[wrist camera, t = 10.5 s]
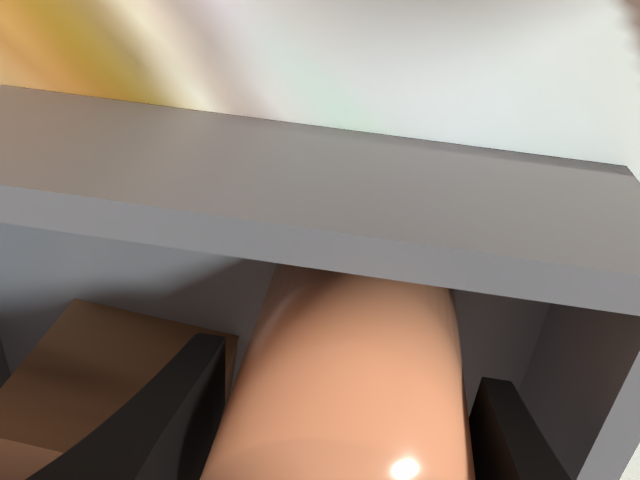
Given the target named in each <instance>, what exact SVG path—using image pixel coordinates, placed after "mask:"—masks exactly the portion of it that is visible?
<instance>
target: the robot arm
mask: <svg viewBox="0 0 640 480" xmlns="http://www.w3.org/2000/svg"><path fill="white" fill-rule="evenodd" d="M225 355H226V337H224V336H217V335H211V334H204V333H197V334H196V335H194V336H193V337H192V338H191V339H190V340H189V341H188V342H187V343H186V345H185V346H184V347H183V348H182V349H181V350H180V351H179V352H178V353H177V354H176V355H175V356H174V357H173V358H172V359H171V360H170V361H169V362H168V363H167V364H166V365H165V366H164V367H163V368H162V369H161V370H160V371H159V372H158V373H157V374H156V375H155V376H154V377H153V378H152V379H151V380H150V381H149V382H148V383H147V384H146V385H145V386H144V387H143V388H142V389H141V390H140V391H138V392H137V393H136V394H135V395H134V396H133V397H132V398H131V399H130V400H129V401H128V402H127V403H125V404H124V405H123V406H122V407H121V408H119V409H118V410H117V411H116V412H115V413H114V414H112V415H111V416H110V417H109V418H108V419H107V420H105V421H104V422H103V423H102V424H101V425H100V426H98V427H97V428H96V429H95V430H93V431H92V432H91V433H90V434H88V435H87V436H86V437H85V438H83V439H82V440H81V441H79V442H78V443H77V444H75V445H74V446H73V447H71V448H70V449H68V450H67V451H66V452H64V453H63V454H62V455H60V456H59V457H58V458H56V459H55V460H53V461H52V462H50V463H49V464H47V465H46V466H44V467H43V468H41V469H40V470H38V471H37V472H35V473H34V474H32V475H31V476H29V477H28V478H26V479H25V480H200V477H201V475H202V472H203V469H204V467H205V464H206V461H207V458H208V455H209V453H210V450H211V447H212V444H213V441H214V439H215V436H216V433H217V430H218V427H219V424H220V421H221V417H222V413H223V410H224V406H225ZM469 427H470V436H471V444H472V453H473V462H474V470H475V479H476V480H572V478H571V477H570V475H569V474H568V472H567V471H566V469H565V468H564V466H563V465H562V463H561V462H560V460H559V459H558V457H557V456H556V454H555V452H554V451H553V449H552V448H551V446H550V445H549V443H548V441H547V440H546V438H545V437H544V435H543V433H542V432H541V430H540V428H539V427H538V425H537V423H536V422H535V420H534V418H533V417H532V415H531V413H530V412H529V410H528V408H527V406H526V405H525V403H524V401H523V400H522V398H521V396H520V394H519V393H518V391H517V389H516V387H515V386H514V384H513V383H512V382H511V381H507V380H501V379H494V378H488V377H482V378H481V381H480V384H479V387H478V391H477V394H476V397H475V400H474V403H473V406H472V410H471V413H470V416H469Z"/></svg>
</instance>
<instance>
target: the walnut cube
mask: <svg viewBox="0 0 640 480" xmlns="http://www.w3.org/2000/svg"><path fill="white" fill-rule="evenodd" d="M197 333H204V334H211V335H217V336H224V337H226V355H225V406H224V410H223V413H222V416H223V414H224V411H225V408H226V405H227V402H228V400H229V397H230V394H231V387H232V380H233V374H234V367H235V360H236V353H237V346H238V339H239V336H236V335H232V334H228V333H223V332H219V331H215V330H210V329H206V328H202V327H197V326H193V325H189V324H184V323H180V322H176V321H171V320H167V319H163V318H158V317H154V316H150V315H145V314H141V313H137V312H132V311H128V310H124V309H119V308H115V307H111V306H106V305H102V304H98V303H93V302H89V301H85V300H80V299H76V298H75V299H74V300H73V301H72V302H71V304H70V305H69V306H68V307H67V309H66V310H65V311H64V312H63V313H62V315H61V316H60V317H59V318H58V319H57V321H56V322H55V323H54V324H53V325H52V327H51V328H50V329H49V330H48V331H47V333H46V334H45V335H44V336H43V338H42V339H41V340H40V341H39V342H38V344H37V345H36V346H35V347H34V348H33V350H32V351H31V352H30V353H29V354H28V356H27V357H26V358H25V359H24V361H23V362H22V363H21V364H20V365H19V367H18V368H17V369H16V370H15V371H14V373H13V374H12V375H11V376H10V377H9V379H8V380H7V381H6V382H5V383H4V385H3V386H2V387H1V388H0V480H25V479H26V478H28V477H29V476H31V475H32V474H34V473H35V472H37V471H38V470H40V469H41V468H43V467H44V466H46V465H47V464H49V463H50V462H52V461H53V460H55V459H56V458H58V457H59V456H60V455H62V454H63V453H64V452H66V451H67V450H68V449H70V448H71V447H73V446H74V445H75V444H77V443H78V442H79V441H81V440H82V439H83V438H85V437H86V436H87V435H88V434H90V433H91V432H92V431H93V430H95V429H96V428H97V427H98V426H100V425H101V424H102V423H103V422H104V421H105V420H107V419H108V418H109V417H110V416H111V415H112V414H114V413H115V412H116V411H117V410H118V409H119V408H121V407H122V406H123V405H124V404H125V403H127V402H128V401H129V400H130V399H131V398H132V397H133V396H134V395H135V394H136V393H137V392H138V391H140V390H141V389H142V388H143V387H144V386H145V385H146V384H147V383H148V382H149V381H150V380H151V379H152V378H153V377H154V376H155V375H156V374H157V373H158V372H159V371H160V370H161V369H162V368H163V367H164V366H165V365H166V364H167V363H168V362H169V361H170V360H171V359H172V358H173V357H174V356H175V355H176V354H177V353H178V352H179V351H180V350H181V349H182V348H183V347H184V346H185V345H186V343H187V342H188V341H189V340H190V339H191V338H192V337H193V336H194V335H196V334H197ZM221 419H222V417H221ZM220 422H221V421H220ZM219 425H220V424H219ZM200 478H201V477H200Z"/></svg>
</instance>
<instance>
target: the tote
mask: <svg viewBox="0 0 640 480" xmlns="http://www.w3.org/2000/svg"><path fill="white" fill-rule="evenodd" d="M277 263H280V264H287V265H294V266H301V267H307V268H314V269H321V270H328V271H335V272H342V273H349V274H355V275H362V276H369V277H376V278H383V279H390V280H396V281H403V282H410V283H417V284H424V285H431V286H438V287H444V288H451V289H454V297H455V305H456V314H457V323H458V331H459V340H460V349H461V357H462V366H463V375H464V383H465V392H466V401H467V410H468V418H469V416H470V413H471V410H472V406H473V403H474V400H475V397H476V394H477V391H478V387H479V384H480V381H481V378H482V377H488V378H494V379H501V380H507V381H511V382H512V383H513V384H514V386H515V387H516V389H517V391H518V393H519V394H520V396H521V398H522V400H523V401H524V403H525V405H526V406H527V408H528V410H529V412H530V413H531V415H532V417H533V418H534V420H535V422H536V423H537V425H538V427H539V428H540V430H541V432H542V433H543V435H544V437H545V438H546V440H547V441H548V443H549V445H550V446H551V448H552V449H553V451H554V452H555V454H556V456H557V457H558V459H559V460H560V462H561V463H562V465H563V466H564V468H565V469H566V471H567V472H568V474H569V475H570V477H571V478H572V480H619V479H620V477H621V475H622V473H623V472H624V470H625V468H626V466H627V464H628V462H629V461H630V459H631V457H632V455H633V453H634V452H635V450H636V448H637V446H638V444H639V442H640V182H639V181H638V180H637V179H636V177H635V176H634V175H633V174H632V172H631V171H630V170H629V169H628V167H627V166H622V165H614V164H606V163H599V162H591V161H583V160H576V159H568V158H560V157H552V156H545V155H537V154H529V153H522V152H514V151H506V150H499V149H491V148H483V147H476V146H468V145H460V144H452V143H445V142H437V141H429V140H422V139H414V138H406V137H399V136H391V135H383V134H375V133H368V132H360V131H352V130H345V129H337V128H329V127H322V126H314V125H306V124H299V123H291V122H283V121H275V120H268V119H260V118H252V117H245V116H237V115H229V114H222V113H214V112H206V111H198V110H191V109H183V108H175V107H168V106H160V105H152V104H145V103H137V102H129V101H121V100H114V99H106V98H98V97H91V96H83V95H75V94H68V93H60V92H52V91H45V90H37V89H29V88H21V87H14V86H6V85H0V388H1V387H2V386H3V385H4V383H5V382H6V381H7V380H8V379H9V377H10V376H11V375H12V374H13V373H14V371H15V370H16V369H17V368H18V367H19V365H20V364H21V363H22V362H23V361H24V359H25V358H26V357H27V356H28V354H29V353H30V352H31V351H32V350H33V348H34V347H35V346H36V345H37V344H38V342H39V341H40V340H41V339H42V338H43V336H44V335H45V334H46V333H47V331H48V330H49V329H50V328H51V327H52V325H53V324H54V323H55V322H56V321H57V319H58V318H59V317H60V316H61V315H62V313H63V312H64V311H65V310H66V309H67V307H68V306H69V305H70V304H71V302H72V301H73V300H74V299H75V298H76V299H80V300H85V301H89V302H93V303H98V304H102V305H106V306H111V307H115V308H119V309H124V310H128V311H132V312H137V313H141V314H145V315H150V316H154V317H158V318H163V319H167V320H171V321H176V322H180V323H184V324H189V325H193V326H197V327H202V328H206V329H210V330H215V331H219V332H223V333H228V334H232V335H236V336H239V339H238V346H237V353H236V360H235V367H234V374H233V380H232V387H231V391H232V388H233V386H234V383H235V380H236V377H237V374H238V372H239V369H240V366H241V363H242V360H243V358H244V355H245V352H246V349H247V346H248V344H249V341H250V338H251V335H252V332H253V330H254V327H255V324H256V321H257V318H258V316H259V313H260V310H261V307H262V305H263V302H264V299H265V296H266V293H267V291H268V288H269V285H270V282H271V279H272V277H273V274H274V271H275V268H276V266H277Z"/></svg>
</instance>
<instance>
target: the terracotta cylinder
mask: <svg viewBox="0 0 640 480" xmlns="http://www.w3.org/2000/svg"><path fill="white" fill-rule="evenodd" d="M200 480H476V479H475V470H474V462H473V453H472V444H471V436H470V427H469V418H468V410H467V401H466V392H465V383H464V375H463V366H462V357H461V349H460V340H459V331H458V323H457V314H456V305H455V297H454V289H451V288H444V287H438V286H431V285H424V284H417V283H410V282H403V281H396V280H390V279H383V278H376V277H369V276H362V275H355V274H349V273H342V272H335V271H328V270H321V269H314V268H307V267H301V266H294V265H287V264H280V263H277V266H276V268H275V271H274V274H273V277H272V279H271V282H270V285H269V288H268V291H267V293H266V296H265V299H264V302H263V305H262V307H261V310H260V313H259V316H258V318H257V321H256V324H255V327H254V330H253V332H252V335H251V338H250V341H249V344H248V346H247V349H246V352H245V355H244V358H243V360H242V363H241V366H240V369H239V372H238V374H237V377H236V380H235V383H234V386H233V388H232V391H231V394H230V397H229V400H228V402H227V405H226V408H225V411H224V414H223V416H222V419H221V422H220V425H219V427H218V430H217V433H216V436H215V439H214V441H213V444H212V447H211V450H210V453H209V455H208V458H207V461H206V464H205V467H204V469H203V472H202V475H201V478H200Z"/></svg>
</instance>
